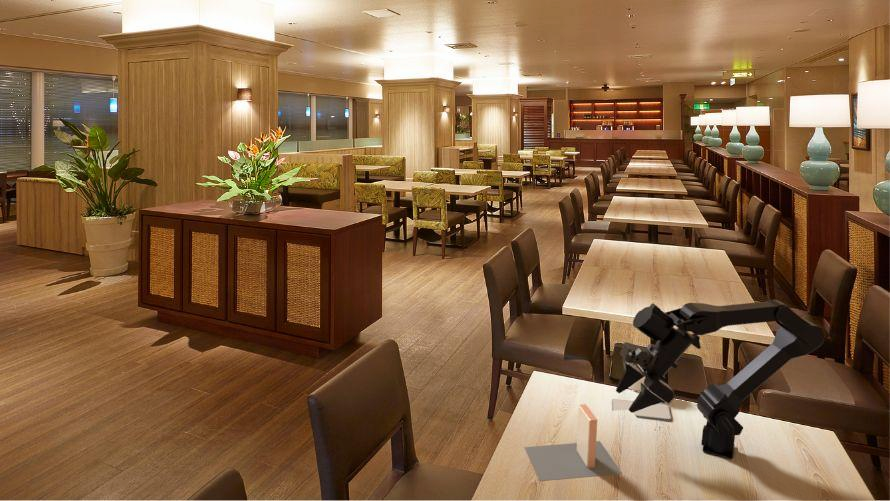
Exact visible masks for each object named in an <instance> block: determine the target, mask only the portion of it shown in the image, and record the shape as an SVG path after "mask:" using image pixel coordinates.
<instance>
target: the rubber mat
mask: <svg viewBox="0 0 890 501" xmlns="http://www.w3.org/2000/svg"><path fill="white" fill-rule="evenodd" d="M524 450H525V452H526V455H527V457H528V459H529V461H530V463H531V465H532V467H533V470H534V472H535V474H536V476H537V479H538V481H539V482H542V481H543V482H544V481H554V480H555V481H557V480H565V479H566V480H567V479H568V480H569V479H576V478H579V479H580V478H591V477H598V476H599V477H601V476H610V475H622V474H623V472H622V471H621V469H620V468H619V467H618V465H617V463H616V462H615V461H614V459H613V458H612V456H611V455H610V453H609V452H608V451H607V449H606V447H605V446H604V445H603V443H602V442H601V441H600V440H596V453H595V467H593V468H588V467H587V466H586V465H585V463H584V461H583V460H582V458H581V456H580V455H579V453H578V452H577V442H571V443H560V444H549V445H546V444H545V445H534V446H524Z"/></svg>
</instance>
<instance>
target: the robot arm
mask: <svg viewBox="0 0 890 501" xmlns="http://www.w3.org/2000/svg"><path fill="white" fill-rule="evenodd" d="M769 322H771V323H772V322H775V324H777V325H778V326H779V328H778V329H777V330H776V333H775V336H774V339H773V342H772V343H771V344H770V345H769V346H768V347H767V348H766V349H764V350H763V351H762V352H761V353H760V354H758V355H757V356H756V357H755V358H754V359H753V360H752V361H750V362H749V363H748V364H746V366H744V368H742V370H740V371H739V372H738V373H737V374H736V375H734V376H733V377H732V378H731V379H730V380H729V381H727V382H726V383H724V384H721V385H717V384H716V383H715V382H711V383H710V384H709V385H708V386H707V387H706V388H705V389H704V390H702V391H699V394H700V395H699V396H698V397H697V399H696V407H697V409H698V411H699V412H700V413H701V414H702V416H703V418H704V419H706V424H705V425H703V428H702V434H701V446H702V452H703V453H707V454H710V455H715V456H719V457H721V458H722V457H723V458H727V459H730V460H731V459H734V453H735V447H736V446H735V439H736V436H740V435H741V433H742V432H743V429H744V426H742V425H741V423H740V422H739V421H738V420H737V419H736V417H737V416H738V415H739V413H740V410H741V407H742V406H743V401H745V399H746V398H748V397H749V396H750V395H752V393H754V391H756V390H757V389H758V388H759V387H761V386H762V385H763V384H764V383H765V382H766V381H767V380H768V379H770V378H771V377H772V376H774V374H776V373H777V372H778V371H779V370H780V369H782V368H783V367H784V366H785V365H786V364H787V363H789V361H791V360H792V359H795V358H799V357H803V356H807V355H809V354H810V353H813V352H814V351H815V350H817V349H818V348H820V347H821V346H822V345H823V344H824V342H825V333H824V331H823V329H822V328H821V327H819V326H818V325H816V324H814V323H812V322H811V321H809V320H807V319H805V318H803V317H801V316H800V315H798V314H797V313H796V312H795V311H793V310H792V309H791V307H790V306H789V305H787V304H785V303H783V302H782V301H779V300H778V299H769V300H766V301H759V302H757V301H756V302H748V303H747V302H746V303H737V304H727V305H713V304H710V303H709V304H708V303H703V302H688V303H685V304H683V305H682V307H679V308H676V309H673V310H670V311H666V312H664V311H663V310H662V309H661V308H660V307H659V306H658V305H656V304H655V303H651V304H650V305H649V306H645V307H643V309H641V310H638V312H637V313H636V314H635V315H634V318H633V321H632V325H633V327H634V328H635V329H637V330H638V331H640V332H641V333H642V334H644V335H645V336H647V337H648V338H649V339H650V340H652V341H654V342H656V343H655V344H653V343H650V344H648V345H647V346H646V347H645V346H641V345H639V344H634V343H631V342H626V341H625V342H624V343H623V345H622V348H621V350H620V353H619V355H620V357H622V359H621V361H622V363H623V365H622V366H623V372H622V374H621V376H620V379H619V382H618V384H617V387H616V388H615V392H616V393H617V394H621V393H623V392H624V391H626V390H627V389H629V387H630V386H632V385H633V384H634V383H636V382H637V381H639V380H640V379H642V378H643V377H644V376H645V380H644V384H645V385H644V384H642V383H641V391H639V393H638V394H637V396H636V397H635V399H634V400H633V401H634V402H633V403H632V405H631V406H630V408H629V410H628V411H629V413H632V414H633V412H636V411H639V410H641V409H644V408H646V407H649V406H652V405H655V404H665V403H666V404H667V405H669V404H671V403H672V401H673V400H674V399H675V398H676V395H675V393H676V392H675V391H674V390H673V389H672V387H671V386H670V385H669V384H667V383H666V382H665V381H666V380H667V378H666V376H665V375H666V374H667V373H668V372H669V370H670V369H671V368H672V367H673V369H677V368H678V366H679V365H678V363H677V361H678V360H679V359H680V358H681V357H682V355H684V353H685V352H686V351H687V350H688V349H689V348H690V347H691V345H692V346H693V347H695V348H696V349H697V350H701V347H702V346H701V342H700V339H701V337H700V336H704V335H709V334H712V333H716V332H718V331H719V330H721V329H722V328H725V327H730V326H739V325H751V324H759V323H762V324H763V323H769ZM675 326H676V328H675ZM690 332H691V333H690Z"/></svg>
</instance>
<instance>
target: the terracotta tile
mask: <svg viewBox="0 0 890 501" xmlns="http://www.w3.org/2000/svg"><path fill="white" fill-rule="evenodd" d="M577 413H578V415H577V434H576V435H577V436H576V437H577V438H576V443H577V452H578V453H579V455H580V456H581V458H582V460H583V461H584V463H585V465H586V466H587V467H588V468H593V467H595V453H596V441H597V435H598V434H597V433H598V432H597V431H598V418H597V417H596V416H595V414H594V413H593V412H592V411H591V409H590V408H589V406H588V405H587V403H585V404H584V403H583V404H579V406H578V412H577Z"/></svg>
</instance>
